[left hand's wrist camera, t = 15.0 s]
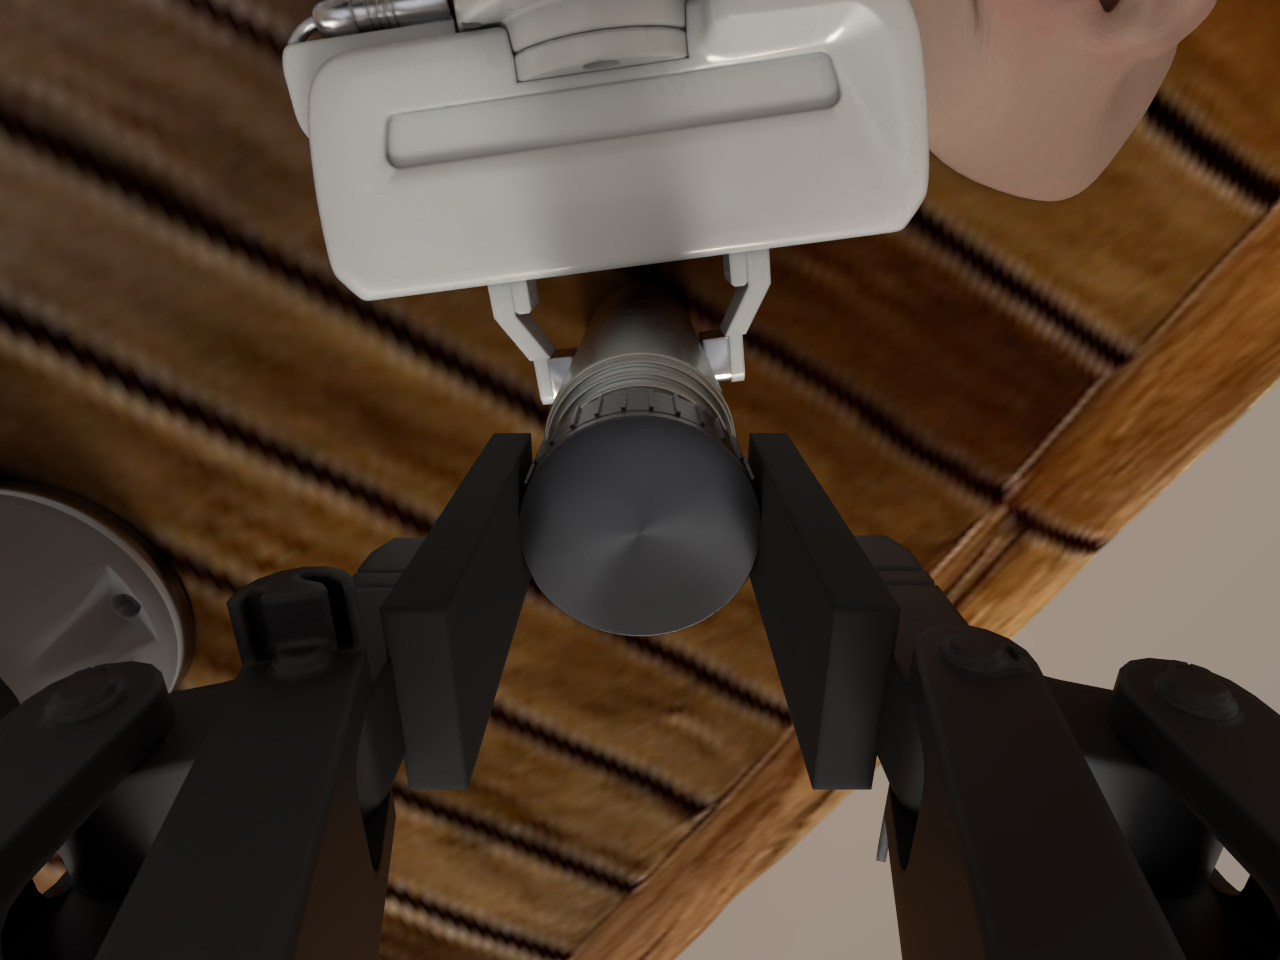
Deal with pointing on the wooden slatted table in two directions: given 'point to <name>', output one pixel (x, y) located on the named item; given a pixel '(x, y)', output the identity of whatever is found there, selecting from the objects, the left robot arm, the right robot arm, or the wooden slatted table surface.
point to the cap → (640, 514)
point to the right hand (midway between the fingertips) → (644, 389)
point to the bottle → (640, 356)
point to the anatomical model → (1044, 84)
